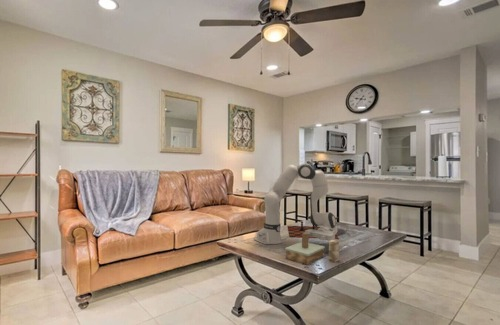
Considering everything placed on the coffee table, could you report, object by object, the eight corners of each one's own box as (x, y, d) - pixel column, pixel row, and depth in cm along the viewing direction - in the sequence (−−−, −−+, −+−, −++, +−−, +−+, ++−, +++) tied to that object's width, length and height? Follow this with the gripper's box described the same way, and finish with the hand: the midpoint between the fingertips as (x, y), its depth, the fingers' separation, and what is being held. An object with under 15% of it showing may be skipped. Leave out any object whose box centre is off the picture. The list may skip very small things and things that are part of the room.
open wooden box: (286, 257, 173) (286, 250, 173) (302, 250, 187) (302, 243, 187) (307, 264, 162) (308, 256, 162) (323, 256, 176) (323, 248, 176)
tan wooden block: (328, 260, 170) (328, 241, 170) (331, 258, 173) (332, 239, 173) (335, 262, 166) (335, 242, 166) (338, 260, 170) (338, 241, 170)
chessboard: (329, 227, 257) (329, 216, 257) (339, 239, 217) (339, 226, 217) (287, 226, 261) (287, 215, 261) (289, 238, 221) (289, 224, 221)
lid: (285, 249, 172) (285, 234, 172) (302, 243, 188) (302, 228, 188) (308, 256, 161) (308, 239, 161) (324, 248, 176) (325, 233, 176)
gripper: (310, 226, 200) (300, 229, 190) (336, 231, 186) (327, 235, 176) (310, 234, 200) (300, 238, 190) (336, 240, 186) (327, 244, 176)
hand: (313, 236), depth 183 cm, fingers open, 8 cm apart
